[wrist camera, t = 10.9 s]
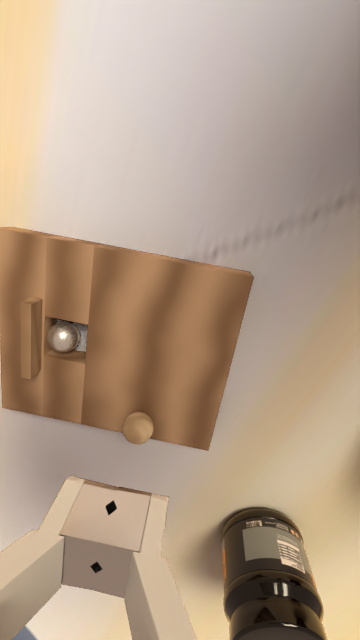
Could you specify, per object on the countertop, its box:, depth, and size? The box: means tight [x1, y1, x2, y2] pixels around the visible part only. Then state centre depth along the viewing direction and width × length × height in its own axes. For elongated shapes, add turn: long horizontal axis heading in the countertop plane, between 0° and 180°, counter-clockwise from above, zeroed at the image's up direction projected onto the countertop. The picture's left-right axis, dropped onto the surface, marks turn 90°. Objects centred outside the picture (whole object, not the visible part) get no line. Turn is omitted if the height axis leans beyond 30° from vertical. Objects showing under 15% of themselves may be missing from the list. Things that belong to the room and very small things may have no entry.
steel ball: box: [47, 322, 80, 352], centre depth 31 cm, size 3×3×3 cm
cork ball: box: [123, 412, 154, 444], centre depth 31 cm, size 3×3×3 cm
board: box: [0, 227, 254, 450], centre depth 31 cm, size 24×20×4 cm
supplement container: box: [221, 509, 327, 640], centre depth 34 cm, size 10×10×12 cm
